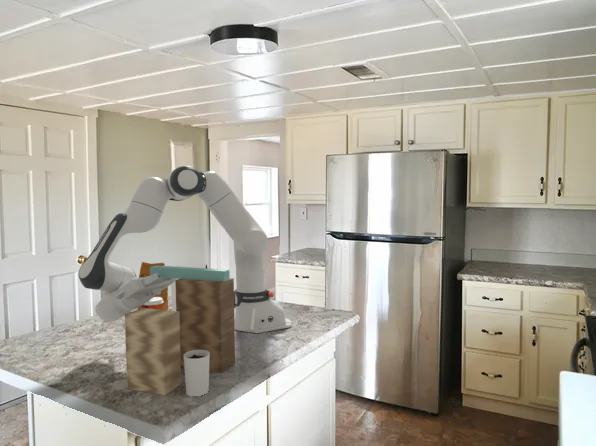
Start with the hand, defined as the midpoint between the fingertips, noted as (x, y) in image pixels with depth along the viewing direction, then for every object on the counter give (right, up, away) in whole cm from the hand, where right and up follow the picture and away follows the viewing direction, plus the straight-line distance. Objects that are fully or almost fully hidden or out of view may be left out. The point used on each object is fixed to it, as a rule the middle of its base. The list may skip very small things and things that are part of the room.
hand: (167, 272), depth 139 cm
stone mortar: (+12, -23, +75) cm, 79 cm away
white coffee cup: (+14, -29, -21) cm, 38 cm away
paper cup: (-12, -26, +24) cm, 37 cm away
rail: (+7, -1, -3) cm, 8 cm away
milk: (-7, -25, +46) cm, 53 cm away
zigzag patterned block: (+2, -29, -18) cm, 34 cm away
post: (+12, -27, -3) cm, 30 cm away
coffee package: (-23, -24, +58) cm, 67 cm away
